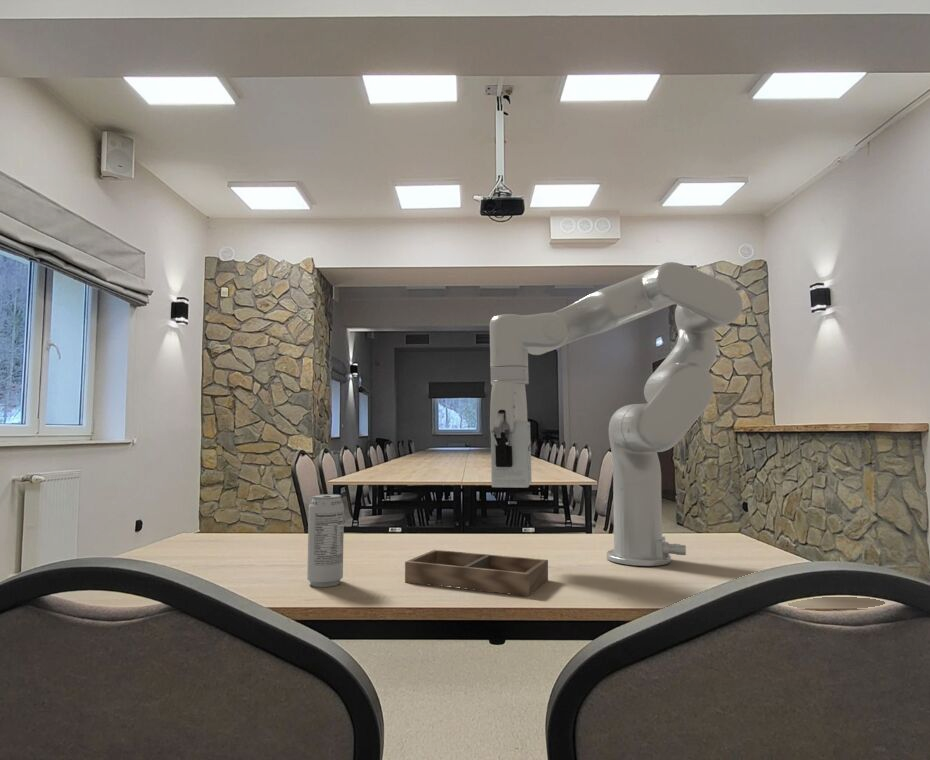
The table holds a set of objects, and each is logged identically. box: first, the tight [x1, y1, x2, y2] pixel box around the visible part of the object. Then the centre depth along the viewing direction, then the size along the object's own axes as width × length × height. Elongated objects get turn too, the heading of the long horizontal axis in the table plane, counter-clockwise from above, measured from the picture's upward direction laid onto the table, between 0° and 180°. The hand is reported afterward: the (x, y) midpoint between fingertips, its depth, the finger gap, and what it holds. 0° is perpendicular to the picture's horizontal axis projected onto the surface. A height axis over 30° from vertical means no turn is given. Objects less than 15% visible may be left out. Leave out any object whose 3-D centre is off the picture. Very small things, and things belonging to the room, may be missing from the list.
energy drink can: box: [306, 493, 345, 588], centre depth 108 cm, size 6×6×15 cm
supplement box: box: [490, 421, 533, 489], centre depth 123 cm, size 7×7×13 cm
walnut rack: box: [404, 549, 549, 597], centre depth 109 cm, size 22×12×4 cm, turn 66°
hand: (511, 464), depth 123 cm, fingers closed on supplement box, 8 cm apart
